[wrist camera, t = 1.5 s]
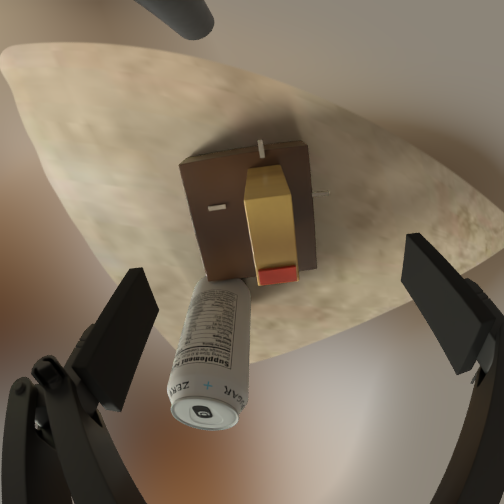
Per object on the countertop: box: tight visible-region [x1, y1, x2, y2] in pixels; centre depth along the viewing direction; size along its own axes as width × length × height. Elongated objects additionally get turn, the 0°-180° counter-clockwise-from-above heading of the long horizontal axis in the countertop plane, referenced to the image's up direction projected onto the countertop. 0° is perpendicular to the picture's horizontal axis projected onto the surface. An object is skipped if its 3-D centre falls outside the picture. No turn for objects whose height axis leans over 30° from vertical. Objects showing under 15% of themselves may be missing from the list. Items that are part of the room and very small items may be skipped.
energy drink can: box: [167, 276, 251, 430], centre depth 24 cm, size 6×6×15 cm
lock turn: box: [244, 165, 299, 286], centre depth 19 cm, size 6×2×8 cm, turn 9°
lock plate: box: [179, 139, 329, 282], centre depth 25 cm, size 12×11×3 cm
